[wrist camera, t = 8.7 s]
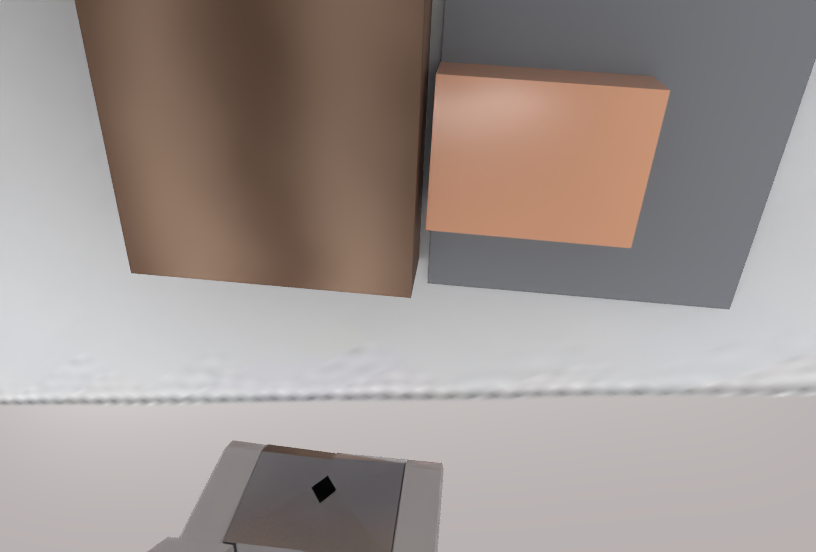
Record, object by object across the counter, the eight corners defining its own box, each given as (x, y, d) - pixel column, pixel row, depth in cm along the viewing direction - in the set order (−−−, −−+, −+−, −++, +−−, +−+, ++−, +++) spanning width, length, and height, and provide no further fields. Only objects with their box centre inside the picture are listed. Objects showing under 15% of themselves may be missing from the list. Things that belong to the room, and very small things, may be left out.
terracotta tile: (430, 206, 27) (425, 230, 24) (440, 61, 24) (435, 74, 21) (618, 222, 26) (631, 248, 24) (652, 75, 23) (670, 90, 21)
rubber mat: (428, 278, 29) (427, 283, 28) (453, -129, 21) (452, -131, 21) (726, 304, 28) (729, 309, 27) (868, -116, 20) (875, -116, 20)
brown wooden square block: (167, 237, 29) (131, 272, 26) (120, -47, 23) (65, -45, 20) (418, 259, 28) (410, 297, 25) (433, -32, 22) (425, -28, 19)
